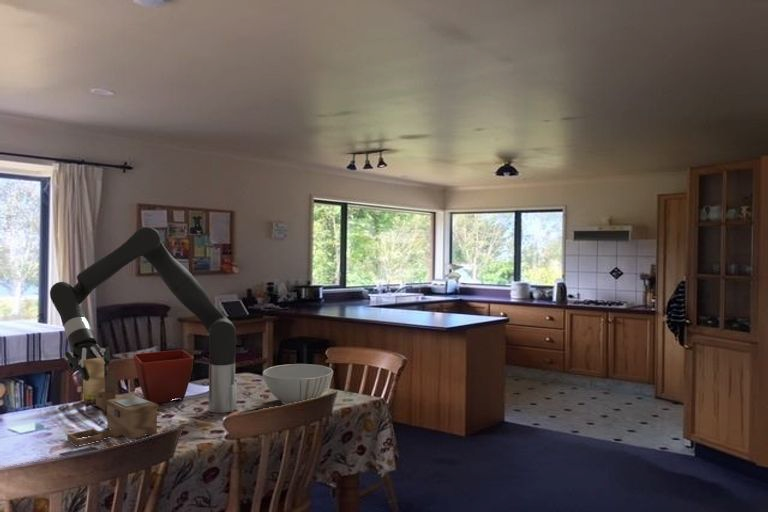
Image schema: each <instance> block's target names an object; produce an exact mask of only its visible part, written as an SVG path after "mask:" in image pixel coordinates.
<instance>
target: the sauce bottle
mask: <svg viewBox="0 0 768 512" xmlns="http://www.w3.org/2000/svg"><path fill="white" fill-rule="evenodd" d="M96 396H97V393H94V394H87V393H85V392H83V391H82V398H83V402H84V403H85V404H93V403H94V404H96Z"/></svg>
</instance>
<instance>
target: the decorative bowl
mask: <svg viewBox="0 0 768 512" xmlns="http://www.w3.org/2000/svg"><path fill="white" fill-rule="evenodd" d="M333 374H334V370H333V369H332V368H331V367H329V366H325V365H321V364H308V363H293V364H289V363H288V364H282V365H281V364H280V365H274V366H271V367H268V368H266V369H263V371H262V378H263V379H264V383H265V384H266V385H265V386H266V387H267V389H268V390H269V392H270V393H271V394H272V395H273V396H274V397H275V398H276V399H278V400H279V401H281V404H282V405H284V404H289V403H294V402H299V401H303V400H307V399H311V398H316V397H318V398H320V397H321V396H322V394H323V393H324V392H326V390H327V388H328V387H329V385H330V383H331V381H332V378H333ZM316 399H317V398H316Z"/></svg>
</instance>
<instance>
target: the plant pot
mask: <svg viewBox="0 0 768 512" xmlns="http://www.w3.org/2000/svg"><path fill="white" fill-rule="evenodd" d="M133 359H134V365H135V366H134V367H135V372H136V375H137V379H138V383H139V387H140V390H141V393H142V395H143V397H144V399H146V400H148V401H151V402H153V403H156V404H159V403H160V404H161V403H167V402H172V401H171V400H172V399H175V398H181V399H183V398H185V396H186V393H187V391H188V387H189V383H190V380H191V376H192V370H193V364H194V357H193V356H192V355H190V354H189V353H188V352H187V351H185V350H184V349H177V350H165V351H164V350H163V351H154V352H141V353H135V354H133ZM183 400H184V399H183Z"/></svg>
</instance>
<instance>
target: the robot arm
mask: <svg viewBox="0 0 768 512" xmlns="http://www.w3.org/2000/svg"><path fill="white" fill-rule="evenodd" d="M161 240H162V239H161V235H160V233H159V232H158V230H157V229H156V228H153V227H150V226H143V227H139V228H138V229H137V230H135V231H134V232H133V234H132V235H131V236H130V237H129V238H128V239H127V240H126V241H125V242H124V243H122V244H121V245H120V246H119V247H117V248H116V249H114V250H113V251H112V252H110V253H108V254H107V255H105V256H103V257H102V258H100V259H99V260H97V261H95V262H94V263H93V264H91V265H89V266H87V268H85V269H84V270H82V271H81V272H79V273H77V275H76V280H77V282H76V284H75V285H74V286H72V285H71V284H70V283H68V282H66V281H58V282H56V283H54V284H53V285H52V286H51V287H50V290H49V298H50V299H51V302H52V304H53V306H54V308H55V310H56V311H57V313H58V314H59V316H60V320H61V323H62V326H63V328H64V333H65V337H66V340H67V341H68V342H67V343H68V345H69V348H70V350H71V351H70V352H69V351H66V352H65V354H64V355H63V360H64V362H65V363H66V364H67V365H68V367H69V368H70V370H71V371H73V372H76V371H77V372H79V373H80V376H81V379H82V381H83V380H85V381H88V380H89V378H90V376H89V374H88V372H87V369H86V367H85V363H84V360H86V359H91V358H101V359H102V357H104V378H105V377H106V376H107V374H108V372H109V370H108V371H107V369H106V366H108V367H109V364H110V362H111V350H110V346H106V347H101V346H99V344H98V343H97V339H96V337H95V333H94V331H93V328H92V327H91V324H90V322H89V321H88V319H87V316H86V314H85V311H84V309H83V308H82V306H81V304H82V302H84V300H85V299H86V298H88V296H89V295H90V294H91V292H93V290H95V289H96V288H98V287H99V286H101V285H102V284H103V283H105V282H106V281H108V280H109V279H110V278H112V277H113V276H114V275H115V274H117V273H118V272H119V271H120V270H122V269H123V268H124V267H125V266H127V265H128V264H130V263H131V262H133V261H134V260H136V259H138V258H141V257H143V258H144V259H145V260H146V261H147V262H149V264H150V265H151V266H152V267H153V269H154V270H155V271H156V272H157V274H158V275H159V276H160V278H161V280H162V281H163V282H164V284H165V285H166V286H167V288H168V289H169V291H170V292H171V293H172V294H173V295H174V296H175V298H176V299H177V300H178V301H179V302H180V303H181V304H182V305H183V306H184V307H185V308H186V309H187V310H189V311H190V312H191V313H192V314H193V315H195V316H196V318H198V320H199V321H200V322H201V324H202V325H203V327H204V329H206V331H207V333H208V334H209V335H208V337H209V338H208V340H209V342H208V343H209V346H208V347H209V348H208V351H209V352H208V353H209V354H208V364H209V365H208V411H209V412H211V413H215V414H221V413H222V414H224V413H232V412H235V411H234V410H236V409H237V403H238V402H237V400H238V399H237V389H238V388H237V385H238V384H237V383H238V382H236V352H237V351H236V349H237V341H236V340H237V331H236V327H235V324H233V322H232V321H231V320H230V319H229V318H228V317H226V316H225V315H224V313H222V312H221V311H220V310H219V309H218V308H217V306H215V304H214V303H213V301H212V300H211V299H210V297H209V295H208V294H207V292H206V291H205V289H204V288H203V286H202V285H201V284H200V283H199V281H198V280H197V279H196V277H195V276H194V275H193V274H192V273H191V272H190V271H189V270H188V268H186V267H185V266H184V265H183V264H182V263H180V262H179V261H178V260H177V259H175V258H174V256H172V255H171V253H170V252H169V251H168V249H167V248H166V247H165V245H164V244H163V242H162V241H161ZM100 353H101V354H100ZM101 355H102V356H101ZM75 359H77V360H78V362H77V361H76V360H75Z"/></svg>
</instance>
